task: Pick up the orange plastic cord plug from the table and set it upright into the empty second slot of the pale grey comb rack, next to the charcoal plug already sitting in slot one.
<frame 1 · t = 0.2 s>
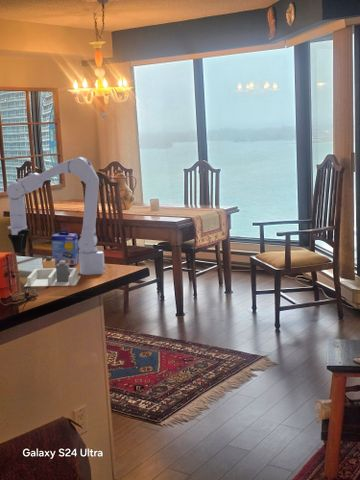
hand: (20, 250, 238), 10 cm above the countertop, fingers open, 7 cm apart
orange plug: (49, 275, 240), on the countertop
comb rack: (53, 283, 229), on the countertop
ink cartridge box: (65, 264, 260), on the countertop
charcoal plug: (63, 280, 229), point 1 cm above the countertop, touching comb rack
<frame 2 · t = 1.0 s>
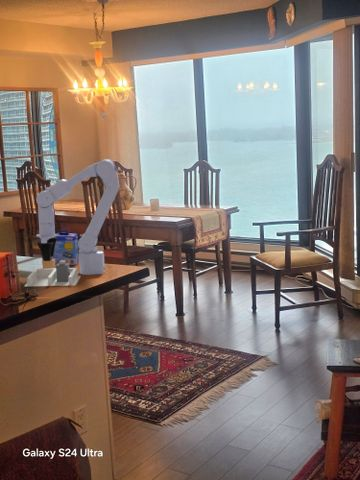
hand: (48, 258, 239), 6 cm above the countertop, fingers open, 7 cm apart
nothing on the countertop moved.
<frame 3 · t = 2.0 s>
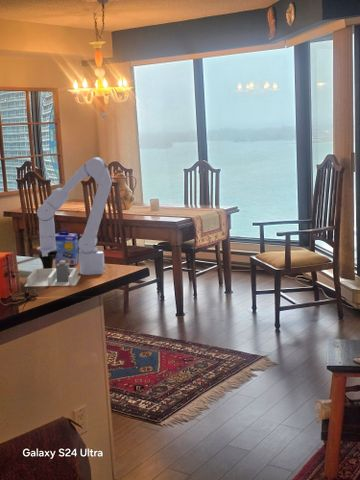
hand: (49, 271, 240), 2 cm above the countertop, fingers closed on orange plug, 4 cm apart
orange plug: (49, 275, 240), on the countertop, touching gripper
everything else where it was.
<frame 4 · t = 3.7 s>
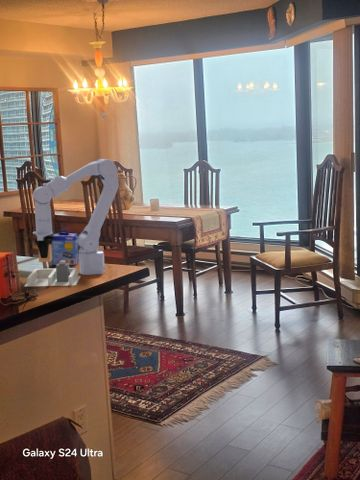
hand: (45, 256, 234), 8 cm above the countertop, fingers closed on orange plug, 4 cm apart
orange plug: (45, 260, 234), point 7 cm above the countertop, touching gripper
everything else where it was.
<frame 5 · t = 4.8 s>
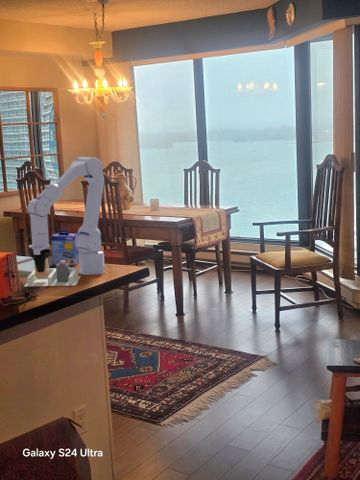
hand: (42, 270, 227), 5 cm above the countertop, fingers closed on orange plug, 4 cm apart
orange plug: (42, 275, 227), point 3 cm above the countertop, touching gripper
everything else where it was.
when the fingers open (4 cm above the countertop, at t = 5.4 s): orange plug drops 1 cm, resting on comb rack.
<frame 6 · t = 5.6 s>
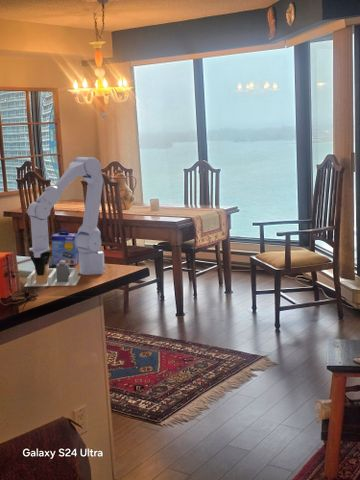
hand: (42, 273, 227), 4 cm above the countertop, fingers open, 5 cm apart
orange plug: (42, 281, 227), point 1 cm above the countertop, touching comb rack
everything else where it was.
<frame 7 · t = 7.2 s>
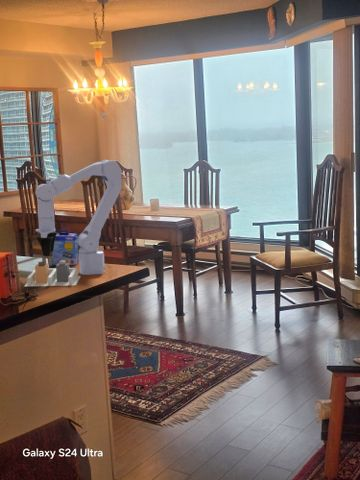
hand: (48, 253, 234), 9 cm above the countertop, fingers open, 7 cm apart
nothing on the countertop moved.
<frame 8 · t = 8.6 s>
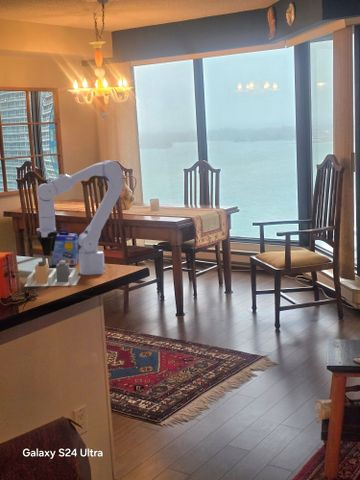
hand: (49, 253, 235), 9 cm above the countertop, fingers open, 7 cm apart
nothing on the countertop moved.
at the end: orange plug inside the target area on the comb rack (0.3 cm from its centre), point 0.8 cm above the comb rack's base; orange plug tilted 0°; charcoal plug moved 0.1 cm from its start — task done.
